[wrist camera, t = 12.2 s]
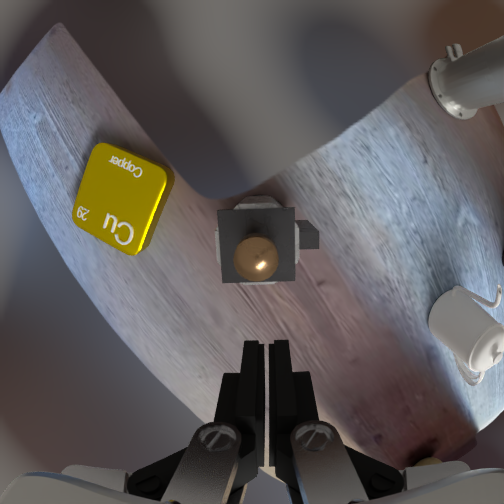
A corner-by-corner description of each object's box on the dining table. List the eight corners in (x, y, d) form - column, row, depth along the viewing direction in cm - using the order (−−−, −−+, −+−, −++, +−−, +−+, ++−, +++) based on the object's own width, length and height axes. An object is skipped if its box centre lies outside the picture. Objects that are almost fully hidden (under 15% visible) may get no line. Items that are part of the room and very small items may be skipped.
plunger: (233, 207, 39) (216, 224, 25) (282, 205, 38) (292, 221, 24) (236, 254, 40) (221, 295, 26) (283, 252, 40) (293, 293, 26)
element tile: (179, 172, 43) (170, 171, 38) (146, 253, 47) (135, 261, 42) (108, 141, 42) (94, 138, 37) (82, 218, 46) (67, 222, 41)
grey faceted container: (228, 196, 43) (211, 205, 29) (303, 193, 43) (322, 201, 29) (231, 254, 46) (217, 288, 32) (304, 251, 45) (321, 284, 31)
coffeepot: (463, 245, 43) (528, 275, 25) (463, 344, 49) (506, 390, 31) (421, 263, 45) (483, 305, 27) (427, 364, 50) (465, 418, 32)
